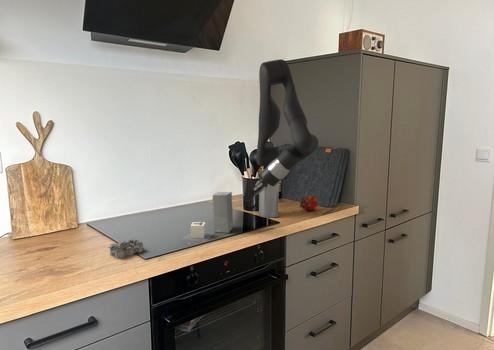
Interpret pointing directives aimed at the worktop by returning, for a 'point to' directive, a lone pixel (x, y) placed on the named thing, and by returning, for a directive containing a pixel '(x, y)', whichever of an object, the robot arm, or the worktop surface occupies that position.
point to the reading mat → (207, 236)
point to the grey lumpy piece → (126, 248)
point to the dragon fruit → (308, 203)
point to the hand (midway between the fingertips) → (245, 200)
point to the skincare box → (222, 212)
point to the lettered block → (198, 230)
